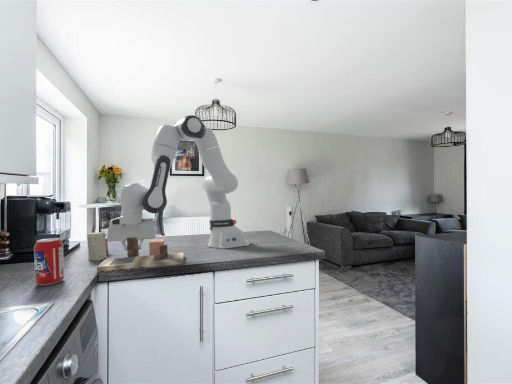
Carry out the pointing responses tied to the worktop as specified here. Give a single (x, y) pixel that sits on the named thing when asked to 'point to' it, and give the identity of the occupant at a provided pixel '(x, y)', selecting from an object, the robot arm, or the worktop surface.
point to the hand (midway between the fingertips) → (133, 249)
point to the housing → (155, 246)
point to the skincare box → (96, 246)
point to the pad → (122, 260)
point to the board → (145, 261)
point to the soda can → (48, 261)
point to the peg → (132, 247)
